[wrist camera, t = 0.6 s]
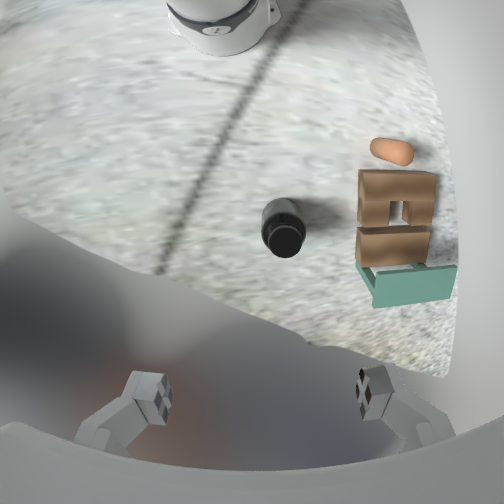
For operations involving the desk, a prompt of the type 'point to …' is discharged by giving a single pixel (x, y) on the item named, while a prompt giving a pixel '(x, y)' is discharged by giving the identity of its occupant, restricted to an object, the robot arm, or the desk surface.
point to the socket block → (377, 217)
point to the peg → (392, 151)
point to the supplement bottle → (283, 228)
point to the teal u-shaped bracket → (409, 284)
